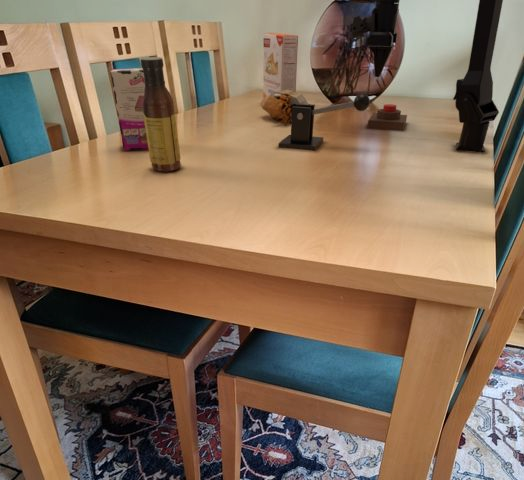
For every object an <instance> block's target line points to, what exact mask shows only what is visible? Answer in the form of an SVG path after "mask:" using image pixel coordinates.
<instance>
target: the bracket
mask: <svg viewBox="0 0 524 480" xmlns="http://www.w3.org/2000/svg"><path fill="white" fill-rule="evenodd" d="M315 107H316V105H315V104H310V103H308V104H296V107H295V106H293V107H292V119H291V121H290V134H288V135H287V136H286V137H284V138H283V139H281V141H279V142H278V148H279V149H288V150H289V149H291V150H301V151H314V152H315V151H317V149H318V148H319V146H320V147H321V145H322V144H323V143H324V136H314V123H315V122H314V121H315V115H311V110H314V109H316V108H315Z"/></svg>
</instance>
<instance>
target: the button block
mask: <svg viewBox="0 0 524 480" xmlns="http://www.w3.org/2000/svg"><path fill="white" fill-rule="evenodd" d="M407 120H408V114H402V110H400V109H397V108H396V112H385V111H383V108H379V109H377V112H373V113H372V114H371V115H370V117H369V119H368V121H367V127H366V128H367V129H369V130H371V129H372V130H383V131H384V130H385V131H399V132H404V129H405V127H406V123H407Z"/></svg>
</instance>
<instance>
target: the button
mask: <svg viewBox="0 0 524 480" xmlns="http://www.w3.org/2000/svg"><path fill="white" fill-rule="evenodd" d="M382 109H383V111H385V112H396V109H397V105H396V104H391V103H388V104H386V103H385V104H383V108H382Z"/></svg>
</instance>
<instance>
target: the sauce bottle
mask: <svg viewBox="0 0 524 480" xmlns="http://www.w3.org/2000/svg"><path fill="white" fill-rule="evenodd" d="M140 66H141V67H140V68H142V69H143V73H144V80H145V82H144V83H145V91H144V102H143V107H142V111H143V117H144V123H145V129H146V136H147V142H148V148H149V149H148V154H149V160H150V163H151V167H152V169H153V170H155V171H157V172H162V173H167V172H168V173H169V172H173V171H177V170H179V169H180V168H181V151H180V144H179V134H178V127H177V119H176V118H177V117H176V112H175V106H174V105H175V104H174V100H173V97H172V95H171V92H170V91H169V90H168V88H167V87H166V80H165V74H164V59H163V57H160V56H147V57H142V58H140Z"/></svg>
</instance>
